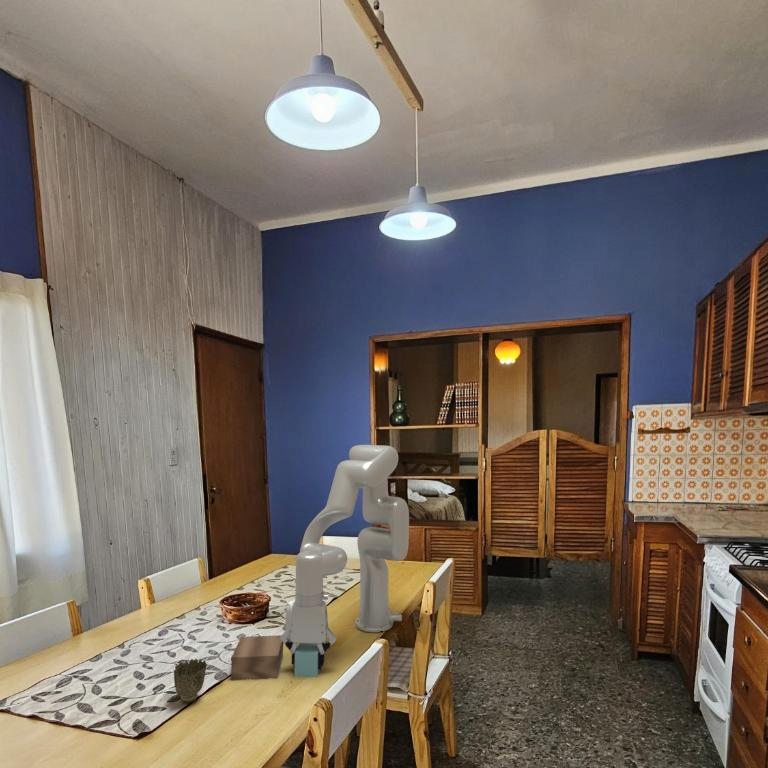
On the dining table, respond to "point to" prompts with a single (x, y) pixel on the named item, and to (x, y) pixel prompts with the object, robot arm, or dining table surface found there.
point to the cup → (189, 679)
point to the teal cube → (306, 660)
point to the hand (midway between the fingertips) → (307, 666)
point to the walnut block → (257, 658)
